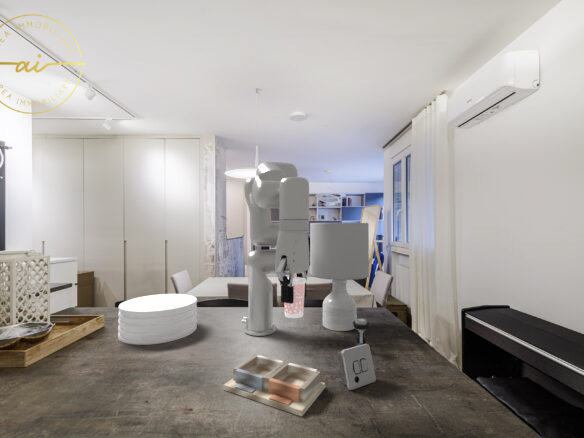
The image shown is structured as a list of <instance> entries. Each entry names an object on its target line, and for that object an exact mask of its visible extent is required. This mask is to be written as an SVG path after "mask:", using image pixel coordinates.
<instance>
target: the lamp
mask: <svg viewBox="0 0 584 438" xmlns="http://www.w3.org/2000/svg"><path fill="white" fill-rule="evenodd" d="M369 230H370V229H369V223H368V222H309V234H310V237H309V239H310V240H309V241H310V242H309V243H310V244H309V268H310V269H309V272H310V274H309V275H310V276H311V277H313V278H318V279H323V280H324V279H325V280H331V283H332V288H331V289H332V290H331V292H330V293H329V294H328V295H327V296H326V297H325V298H323V301H322V318H321V320H322V326H323V327H324V328H326V329H327V330H330V331H337V332H347V331H348V332H349V331H352V330H354V329H355V328H354V324H353V321H356V319H357V318H358V317H357V312H358V311H357V308H358V307H357V303H356V300H355V299H354V297H353V296H352V295H351V294H349V292H348V290H347V283H348V281H351V280H352V281H354V280H364V279H367V278H369V277H370V275H369V274H370V271H369V270H370V269H369V268H370V265H369V264H370V262H369V261H370V260H369V259H370V258H369V256H370V254H369V253H370V249H369V248H370V247H369V246H370V245H369V243H370V242H369V239H370V238H369V234H370V233H369ZM355 330H356V329H355Z"/></svg>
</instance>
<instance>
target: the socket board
mask: <svg viewBox="0 0 584 438" xmlns="http://www.w3.org/2000/svg"><path fill="white" fill-rule="evenodd" d="M232 370H233V372H232V373H233V374H232V375H233V377H232V378H231V379H229V380H228V381H227V382H225V383H224V384H222V389H223V391H226V392H229V393H233V394H235V395H238V396H240V397H241V396H242V397H243V398H247V399H249V400H252V401H256V402H258V403H260V404H261V403H262V404H263V405H267V406H269V407H273V408H276V409H279V410H282V411H284V412H287V413H290V414H293V415H295V416H299V417H303V416H304V415H305V414H306V412H307V411H308V410H309V409H310V407H311V406H312V405H313V403H314V402H315V401H316V400H317V398H318V397H319V396H320V395H321V394H322V393H323V391H324V390H325V389H326V383H325V382H322V381H321V379H322V373H321V371H318V369H316V368H313V367H309V366H304V365H301V364H297V363H294V362H293V363H292V362H289V363H287V362H284V360H280V359H277V358H272V357H268V356H264V355H260V354H259V355H256V354H254V355H252V356H251V357H249V358H247V359H246V360H244V361H242V362H241V363H239V364H238V365H236V366H235V367H233V369H232Z"/></svg>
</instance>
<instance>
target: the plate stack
mask: <svg viewBox="0 0 584 438" xmlns="http://www.w3.org/2000/svg"><path fill="white" fill-rule="evenodd" d="M197 303H198V299H197V297H196V296H194V295H191V294H183V293H159V294H151V295H145V296H143V295H142V296H138V297H134V298H131V299H128V300H125V301H123V302H121V303H119V305H118V314H117V315H118V321H117V322H118V326H117V327H118V328H117V331H118V333H117V338H118V340H119V341H120V342H122V343H125V344H128V345H138V346H141V345H145V346H146V345H156V344H163V343H169V342H172V341H176V340H180V339H183V338H186V337H188V336H189V335H191V334H193V333H194V332H195V331H196V330H197V328H198V327H197V326H198V324H197V322H198V318H197V316H198V310H197V309H198V305H197Z"/></svg>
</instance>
